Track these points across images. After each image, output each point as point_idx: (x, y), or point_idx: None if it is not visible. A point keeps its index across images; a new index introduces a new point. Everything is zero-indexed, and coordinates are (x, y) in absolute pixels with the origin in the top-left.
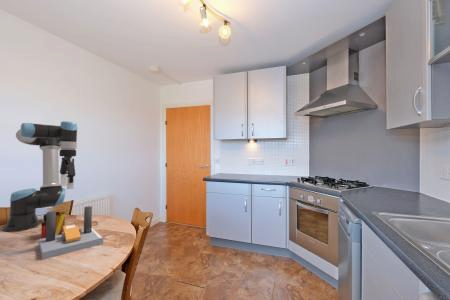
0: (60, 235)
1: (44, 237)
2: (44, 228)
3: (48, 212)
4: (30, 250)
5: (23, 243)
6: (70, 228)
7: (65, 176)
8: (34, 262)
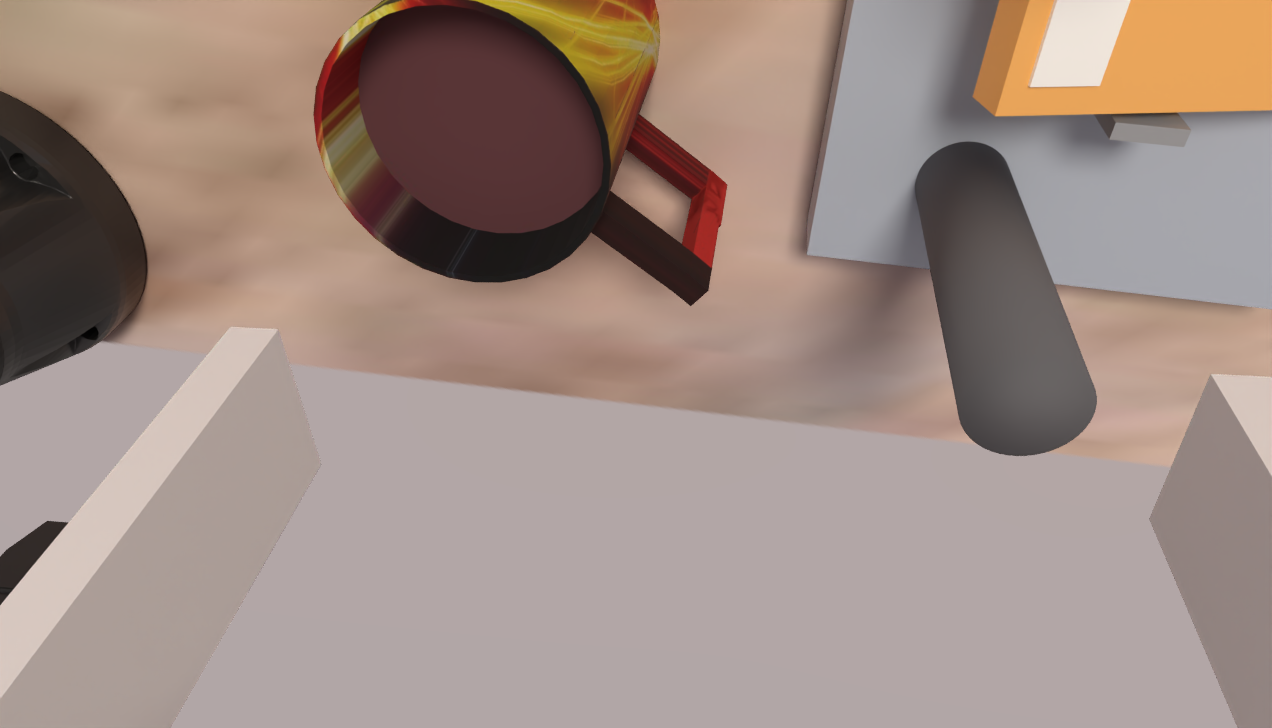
0: (874, 58)
1: (706, 176)
2: (699, 235)
3: (994, 432)
4: (897, 293)
5: (623, 297)
6: (1120, 26)
7: (77, 664)
8: (1263, 326)
